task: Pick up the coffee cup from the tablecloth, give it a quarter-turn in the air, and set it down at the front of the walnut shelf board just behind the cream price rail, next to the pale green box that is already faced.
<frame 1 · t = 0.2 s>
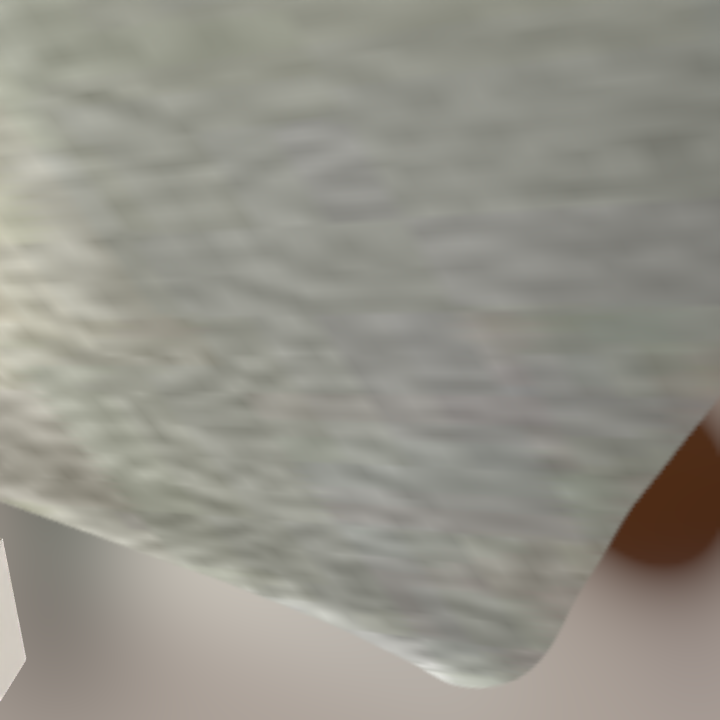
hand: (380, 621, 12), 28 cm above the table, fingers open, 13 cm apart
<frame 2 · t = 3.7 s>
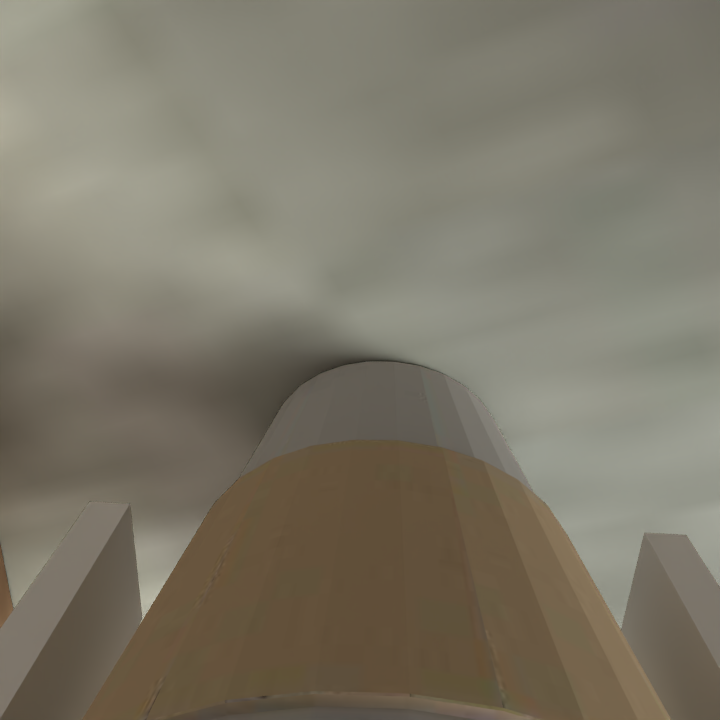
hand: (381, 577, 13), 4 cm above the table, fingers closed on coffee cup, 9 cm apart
coffee cup: (384, 460, 17), on the table, touching gripper
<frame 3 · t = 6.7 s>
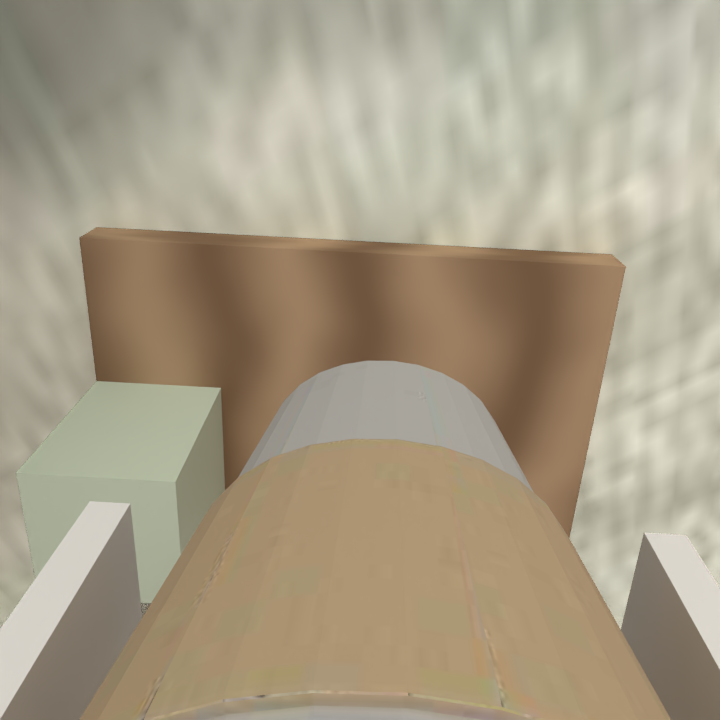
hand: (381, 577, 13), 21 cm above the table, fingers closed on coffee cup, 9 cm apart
shelf board: (346, 394, 35), on the table
coffee cup: (383, 459, 17), point 17 cm above the table, touching gripper
pale green box: (163, 438, 34), point 2 cm above the table, touching shelf board
when the fingers open (6 cm above the table, at t = 9.9 s): coffee cup stays where it is, resting on shelf board.
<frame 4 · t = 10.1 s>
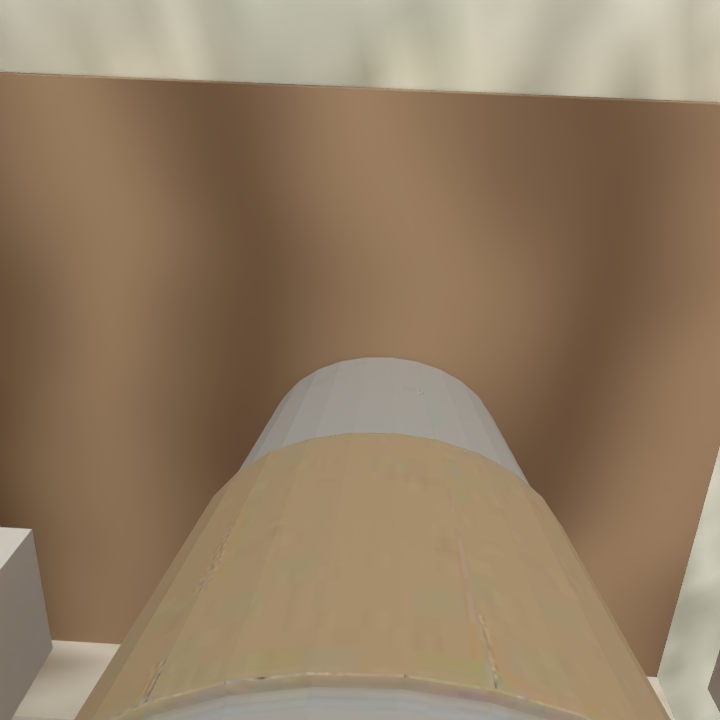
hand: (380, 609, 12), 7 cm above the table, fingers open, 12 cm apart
shelf board: (237, 398, 19), on the table
coffee cup: (382, 455, 17), point 2 cm above the table, touching shelf board
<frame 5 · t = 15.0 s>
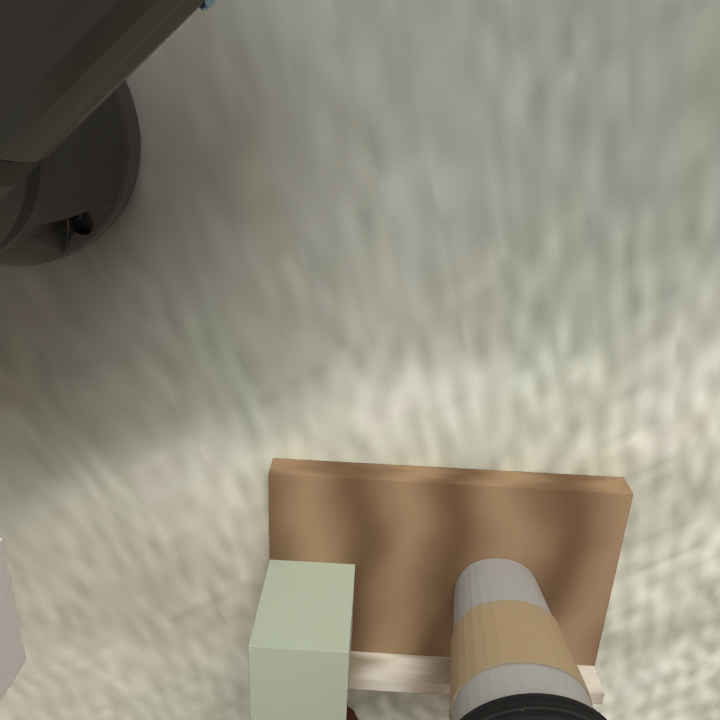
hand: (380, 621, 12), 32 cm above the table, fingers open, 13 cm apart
shelf board: (437, 562, 50), on the table
coffee cup: (495, 587, 49), point 2 cm above the table, touching shelf board
pale green box: (311, 595, 50), point 2 cm above the table, touching shelf board
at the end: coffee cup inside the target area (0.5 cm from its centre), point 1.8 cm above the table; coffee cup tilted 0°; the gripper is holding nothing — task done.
